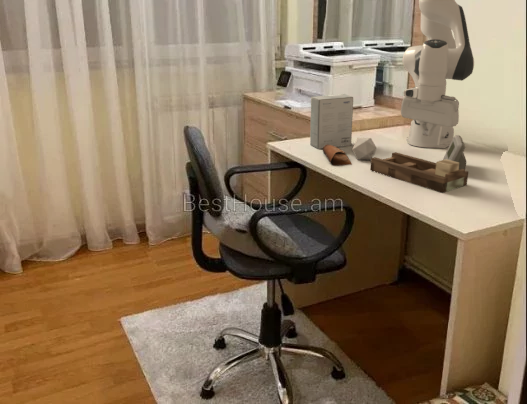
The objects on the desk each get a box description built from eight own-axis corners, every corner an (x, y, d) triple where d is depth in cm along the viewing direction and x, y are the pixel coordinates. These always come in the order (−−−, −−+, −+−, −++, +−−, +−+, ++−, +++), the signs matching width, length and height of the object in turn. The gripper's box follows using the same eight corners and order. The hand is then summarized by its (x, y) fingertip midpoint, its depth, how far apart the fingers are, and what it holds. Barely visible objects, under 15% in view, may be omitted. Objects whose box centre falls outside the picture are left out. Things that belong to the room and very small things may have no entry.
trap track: (394, 164, 209) (395, 149, 207) (466, 184, 187) (468, 168, 185) (370, 170, 202) (371, 155, 200) (442, 192, 179) (444, 176, 177)
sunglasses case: (353, 164, 208) (345, 149, 206) (337, 174, 209) (328, 159, 207) (343, 151, 225) (335, 137, 223) (328, 160, 226) (319, 146, 224)
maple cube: (444, 173, 188) (446, 159, 186) (457, 177, 184) (459, 162, 182) (434, 176, 185) (436, 161, 183) (447, 180, 181) (449, 165, 180)
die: (369, 165, 210) (383, 142, 211) (349, 152, 210) (363, 130, 211) (365, 166, 219) (378, 145, 219) (346, 154, 219) (359, 133, 219)
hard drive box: (342, 141, 240) (345, 93, 234) (351, 145, 234) (354, 96, 227) (309, 144, 235) (310, 96, 228) (317, 149, 229) (319, 99, 222)
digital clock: (443, 161, 213) (446, 133, 210) (468, 164, 210) (472, 135, 206) (436, 172, 199) (439, 143, 196) (463, 176, 196) (467, 145, 192)
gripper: (465, 96, 177) (460, 140, 182) (411, 87, 192) (408, 128, 197) (453, 99, 173) (448, 143, 178) (399, 90, 188) (396, 131, 193)
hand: (427, 135), depth 188 cm, fingers closed
